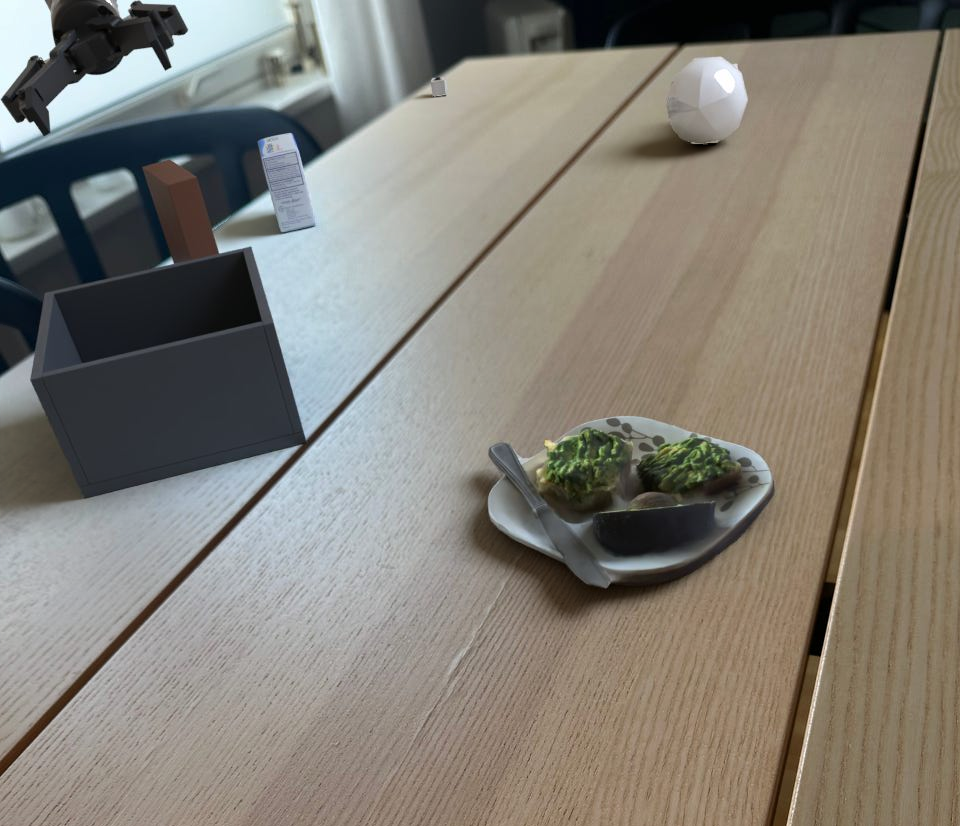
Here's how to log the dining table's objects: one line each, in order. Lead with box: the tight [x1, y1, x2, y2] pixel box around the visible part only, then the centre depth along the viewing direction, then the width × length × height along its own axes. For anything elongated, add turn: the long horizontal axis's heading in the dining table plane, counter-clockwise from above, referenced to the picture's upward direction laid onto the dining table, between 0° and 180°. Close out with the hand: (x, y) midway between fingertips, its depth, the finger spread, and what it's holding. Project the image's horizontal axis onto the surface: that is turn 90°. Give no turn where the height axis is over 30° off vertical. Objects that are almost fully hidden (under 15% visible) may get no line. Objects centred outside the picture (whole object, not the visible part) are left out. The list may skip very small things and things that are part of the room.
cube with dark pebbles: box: [430, 76, 448, 97], centre depth 158 cm, size 2×2×2 cm
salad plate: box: [487, 415, 776, 589], centre depth 67 cm, size 19×18×5 cm
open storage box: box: [29, 246, 307, 499], centre depth 83 cm, size 18×18×10 cm
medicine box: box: [257, 132, 317, 233], centre depth 119 cm, size 8×4×9 cm, turn 13°
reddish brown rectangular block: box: [141, 159, 220, 264], centre depth 105 cm, size 3×9×12 cm, turn 30°
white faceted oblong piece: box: [665, 56, 749, 143], centre depth 123 cm, size 9×10×15 cm
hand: (99, 88), depth 99 cm, fingers open, 13 cm apart
